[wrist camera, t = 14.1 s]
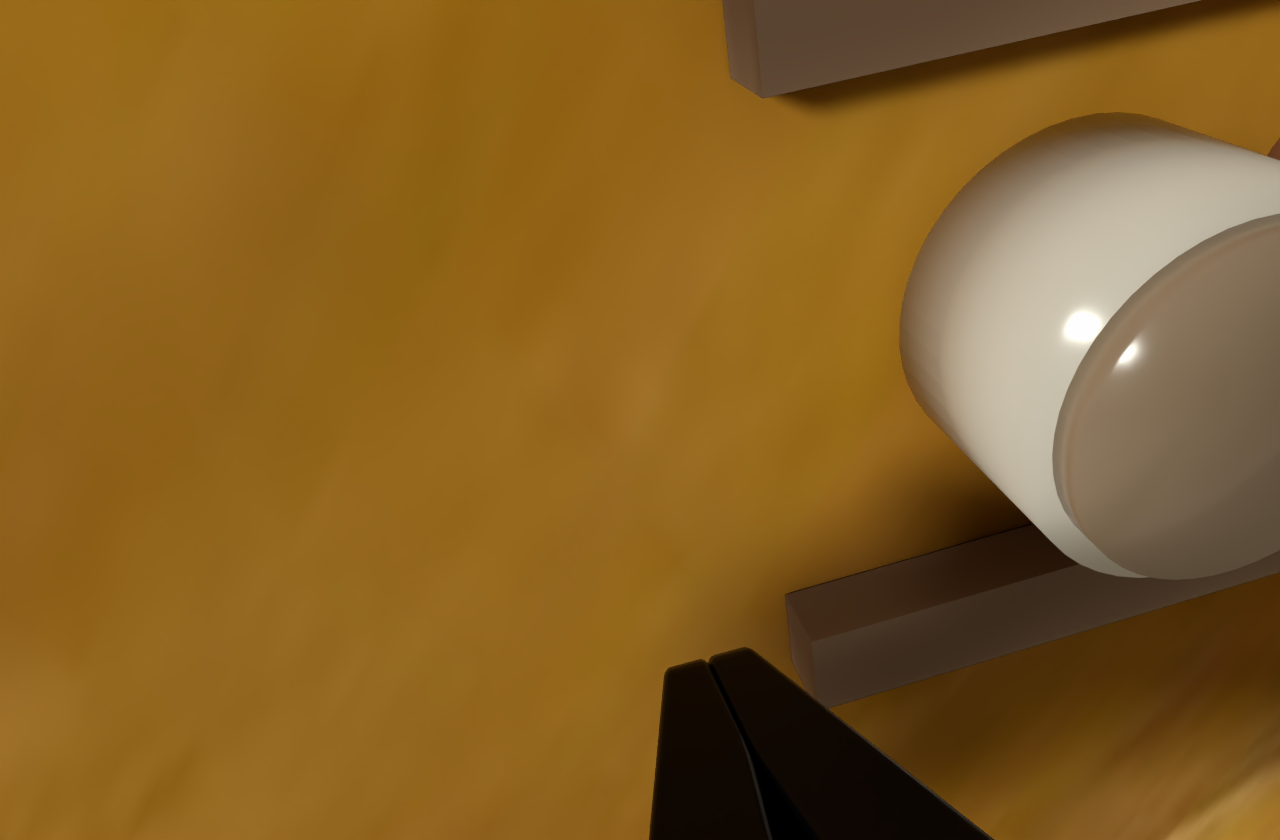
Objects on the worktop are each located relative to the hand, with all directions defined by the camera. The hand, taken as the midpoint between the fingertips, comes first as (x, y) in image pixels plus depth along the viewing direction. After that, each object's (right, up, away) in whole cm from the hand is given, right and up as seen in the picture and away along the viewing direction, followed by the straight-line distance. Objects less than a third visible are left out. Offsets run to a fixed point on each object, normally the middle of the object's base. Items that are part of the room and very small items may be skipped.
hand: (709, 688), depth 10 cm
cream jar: (+6, +5, +6) cm, 9 cm away
